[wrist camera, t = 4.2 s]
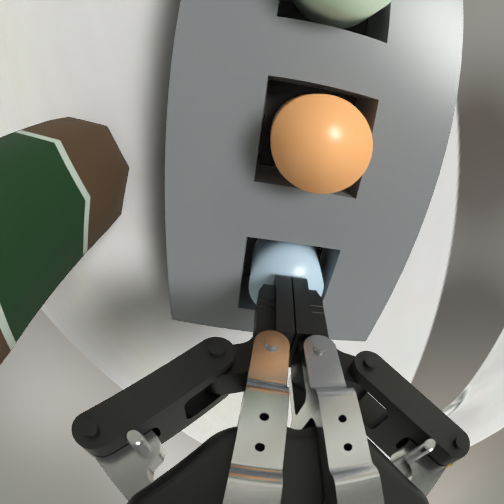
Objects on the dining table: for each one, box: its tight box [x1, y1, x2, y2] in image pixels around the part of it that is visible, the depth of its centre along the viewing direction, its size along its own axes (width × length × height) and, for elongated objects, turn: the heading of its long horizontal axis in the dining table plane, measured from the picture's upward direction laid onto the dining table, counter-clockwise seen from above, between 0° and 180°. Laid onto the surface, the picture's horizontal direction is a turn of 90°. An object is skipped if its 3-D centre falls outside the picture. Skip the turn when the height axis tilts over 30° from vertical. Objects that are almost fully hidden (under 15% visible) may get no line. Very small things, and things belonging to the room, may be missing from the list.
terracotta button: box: [271, 94, 373, 194], centre depth 10 cm, size 4×4×3 cm
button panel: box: [165, 0, 463, 341], centre depth 11 cm, size 22×12×3 cm, turn 173°
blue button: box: [249, 238, 324, 304], centre depth 15 cm, size 4×4×3 cm
